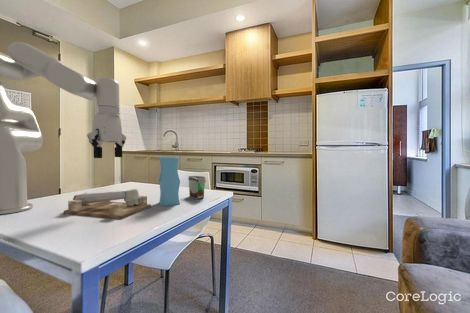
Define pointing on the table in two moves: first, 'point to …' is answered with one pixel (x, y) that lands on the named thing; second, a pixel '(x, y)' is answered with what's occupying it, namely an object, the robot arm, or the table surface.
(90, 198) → the white electric toothbrush
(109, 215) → the v block cradle
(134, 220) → the table surface
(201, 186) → the food container
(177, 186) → the vase
